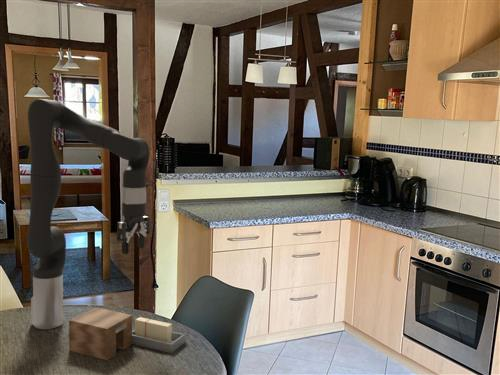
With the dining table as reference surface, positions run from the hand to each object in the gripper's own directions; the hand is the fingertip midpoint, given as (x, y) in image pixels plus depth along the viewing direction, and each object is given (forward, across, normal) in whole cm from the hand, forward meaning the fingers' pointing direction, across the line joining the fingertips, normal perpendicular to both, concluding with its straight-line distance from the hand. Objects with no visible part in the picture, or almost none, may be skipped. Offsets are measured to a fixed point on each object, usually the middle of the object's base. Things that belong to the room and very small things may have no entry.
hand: (133, 251), depth 157 cm
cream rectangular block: (+28, +2, +9) cm, 29 cm away
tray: (+28, +2, +10) cm, 30 cm away
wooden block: (+28, +12, -3) cm, 31 cm away
